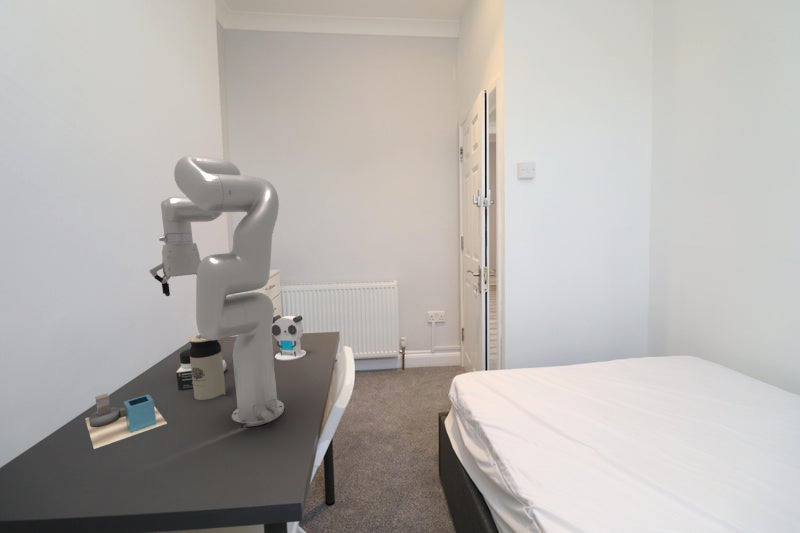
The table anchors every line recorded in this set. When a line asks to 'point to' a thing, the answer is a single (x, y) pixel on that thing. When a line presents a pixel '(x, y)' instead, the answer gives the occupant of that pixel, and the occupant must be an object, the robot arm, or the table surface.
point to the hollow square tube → (139, 413)
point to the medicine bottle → (185, 372)
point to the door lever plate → (112, 423)
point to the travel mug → (206, 368)
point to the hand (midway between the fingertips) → (185, 293)
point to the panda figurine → (288, 337)
